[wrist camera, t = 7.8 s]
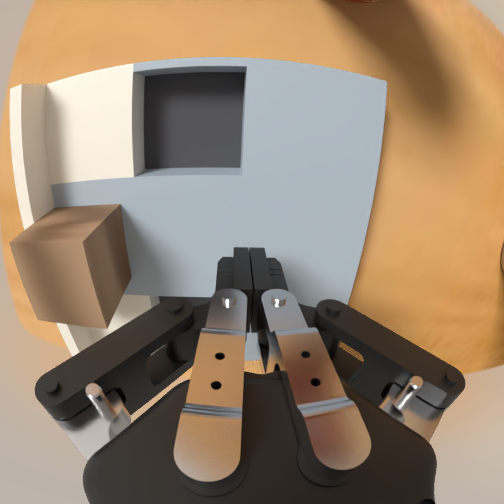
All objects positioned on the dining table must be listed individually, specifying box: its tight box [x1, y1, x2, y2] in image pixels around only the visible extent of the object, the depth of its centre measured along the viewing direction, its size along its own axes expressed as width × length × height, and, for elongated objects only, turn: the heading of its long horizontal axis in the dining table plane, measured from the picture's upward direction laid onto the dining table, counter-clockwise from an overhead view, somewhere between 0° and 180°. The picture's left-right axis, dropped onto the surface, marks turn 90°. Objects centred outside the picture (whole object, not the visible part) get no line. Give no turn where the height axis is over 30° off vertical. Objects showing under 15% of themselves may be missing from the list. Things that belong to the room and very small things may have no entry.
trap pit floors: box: [144, 72, 245, 306], centre depth 18 cm, size 6×20×1 cm, turn 177°
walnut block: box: [9, 204, 132, 329], centre depth 14 cm, size 5×5×5 cm
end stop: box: [10, 84, 95, 356], centre depth 14 cm, size 1×21×2 cm, turn 177°
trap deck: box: [46, 57, 387, 360], centre depth 17 cm, size 21×21×2 cm
